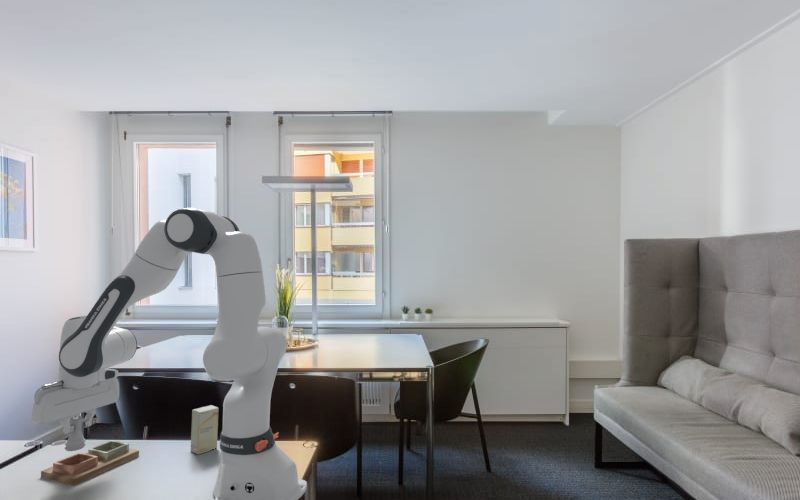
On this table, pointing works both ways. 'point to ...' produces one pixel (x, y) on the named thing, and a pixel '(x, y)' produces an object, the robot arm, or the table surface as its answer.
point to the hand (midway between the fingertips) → (77, 429)
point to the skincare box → (204, 429)
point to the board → (90, 463)
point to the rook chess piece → (75, 435)
